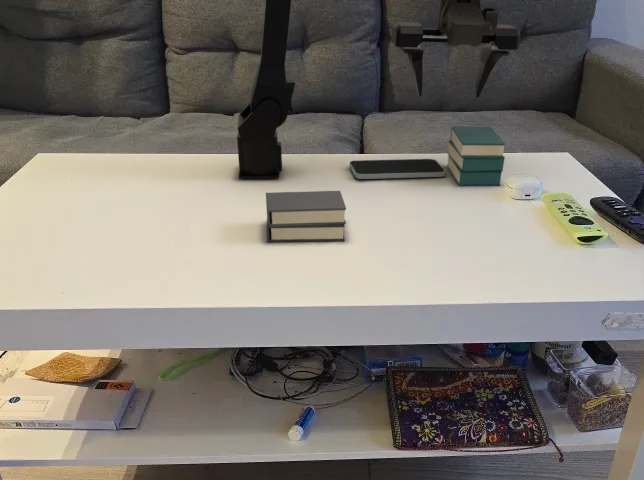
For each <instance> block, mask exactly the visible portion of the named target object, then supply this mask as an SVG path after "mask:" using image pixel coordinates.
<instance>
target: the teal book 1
mask: <svg viewBox="0 0 644 480" xmlns="http://www.w3.org/2000/svg"><path fill="white" fill-rule="evenodd" d="M449 140H451V142H452V143H453V145H454V147H455V148H456V150H457V152H458V153H459V155H460V157H461V158H503V156H504V150H505V142H504V140H503V139H502V138H501V137H500V136H499V134H498V133H496V131H495V130H494V129H493V128H492V126H451V132H450V139H449Z"/></svg>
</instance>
